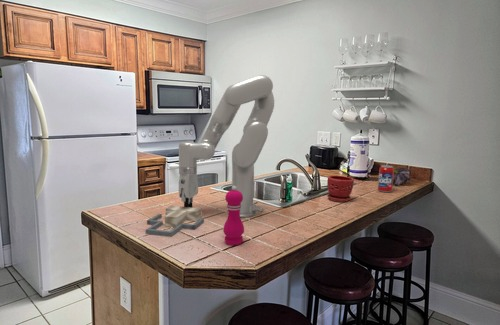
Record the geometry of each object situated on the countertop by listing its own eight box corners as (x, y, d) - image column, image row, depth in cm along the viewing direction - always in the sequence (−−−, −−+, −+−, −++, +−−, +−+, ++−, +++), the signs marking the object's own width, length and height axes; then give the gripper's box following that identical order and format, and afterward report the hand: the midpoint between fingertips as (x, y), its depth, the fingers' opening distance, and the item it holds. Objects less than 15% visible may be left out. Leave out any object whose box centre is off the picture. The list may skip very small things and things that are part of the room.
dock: (203, 222, 134) (203, 218, 134) (184, 238, 117) (184, 234, 117) (159, 217, 139) (159, 213, 139) (133, 232, 122) (133, 228, 122)
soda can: (393, 190, 194) (395, 165, 192) (390, 193, 188) (393, 167, 185) (379, 189, 198) (381, 164, 196) (376, 191, 192) (378, 166, 189)
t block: (201, 217, 140) (201, 208, 139) (187, 228, 127) (187, 218, 126) (171, 214, 143) (171, 205, 143) (154, 224, 130) (154, 215, 129)
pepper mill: (223, 238, 118) (223, 183, 115) (243, 237, 118) (244, 183, 115) (223, 246, 111) (223, 188, 108) (244, 245, 111) (245, 188, 108)
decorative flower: (381, 167, 218) (404, 161, 216) (383, 182, 222) (405, 176, 221) (390, 177, 204) (414, 171, 203) (392, 193, 209) (416, 187, 208)
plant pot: (343, 204, 163) (344, 181, 162) (321, 199, 173) (322, 176, 171) (357, 200, 172) (358, 177, 170) (335, 195, 182) (337, 174, 180)
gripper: (188, 174, 133) (188, 218, 136) (203, 168, 147) (203, 208, 150) (171, 173, 135) (172, 216, 138) (187, 167, 149) (188, 206, 152)
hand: (188, 211), depth 144 cm, fingers closed
